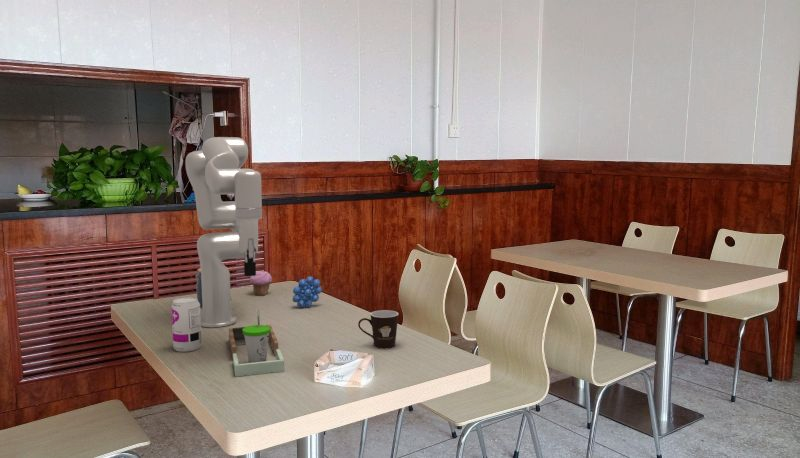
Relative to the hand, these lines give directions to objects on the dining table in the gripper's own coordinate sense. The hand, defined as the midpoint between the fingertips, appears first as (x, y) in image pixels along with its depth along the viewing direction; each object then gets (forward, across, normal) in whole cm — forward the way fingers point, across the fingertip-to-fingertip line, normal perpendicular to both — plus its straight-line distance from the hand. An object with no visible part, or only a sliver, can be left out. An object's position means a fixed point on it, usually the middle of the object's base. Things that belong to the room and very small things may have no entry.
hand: (250, 275), depth 184 cm
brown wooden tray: (+23, -3, +1) cm, 24 cm away
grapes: (+25, -48, +25) cm, 60 cm away
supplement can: (+24, -9, -18) cm, 32 cm away
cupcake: (+26, -75, +10) cm, 80 cm away
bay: (+23, +15, 0) cm, 27 cm away
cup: (+23, +12, 0) cm, 26 cm away
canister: (+25, -63, -9) cm, 69 cm away
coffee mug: (+23, +6, +38) cm, 45 cm away
